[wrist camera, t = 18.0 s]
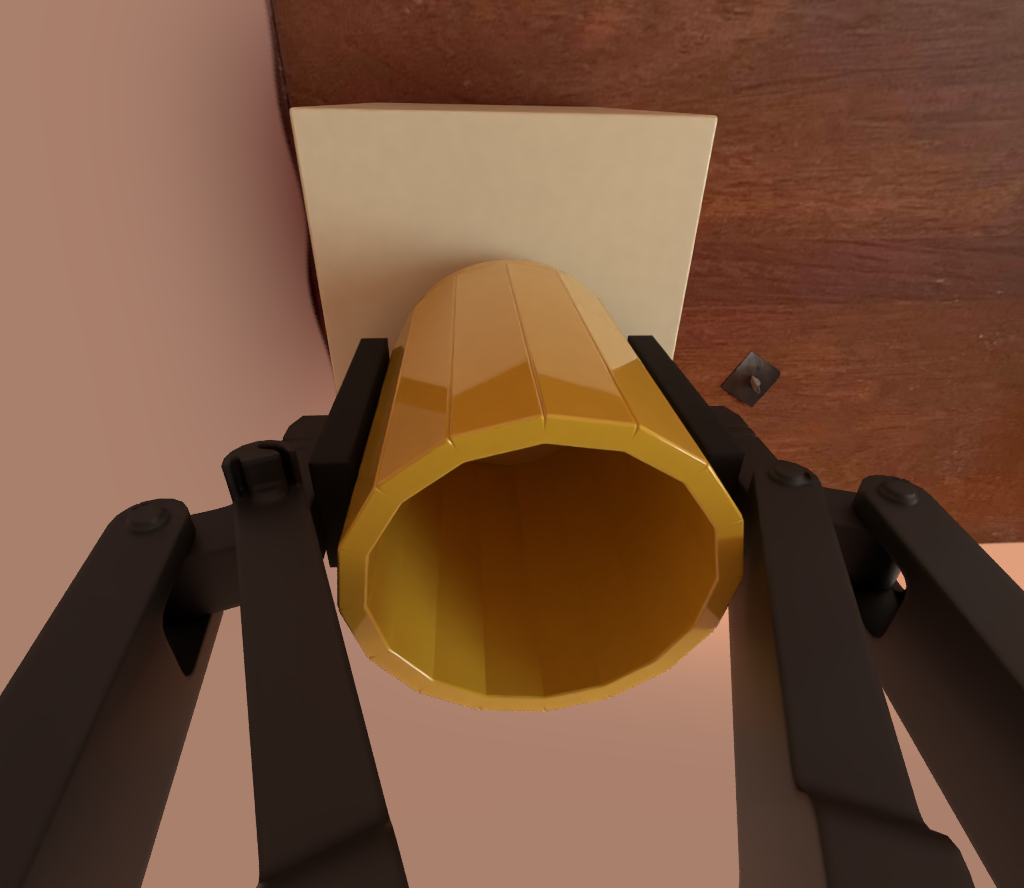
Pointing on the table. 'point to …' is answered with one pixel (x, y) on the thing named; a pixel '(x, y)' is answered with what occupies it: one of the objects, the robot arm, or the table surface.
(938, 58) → the table surface
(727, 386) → the dark square tile
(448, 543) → the cup
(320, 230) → the shelf
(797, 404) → the table surface
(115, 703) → the robot arm
